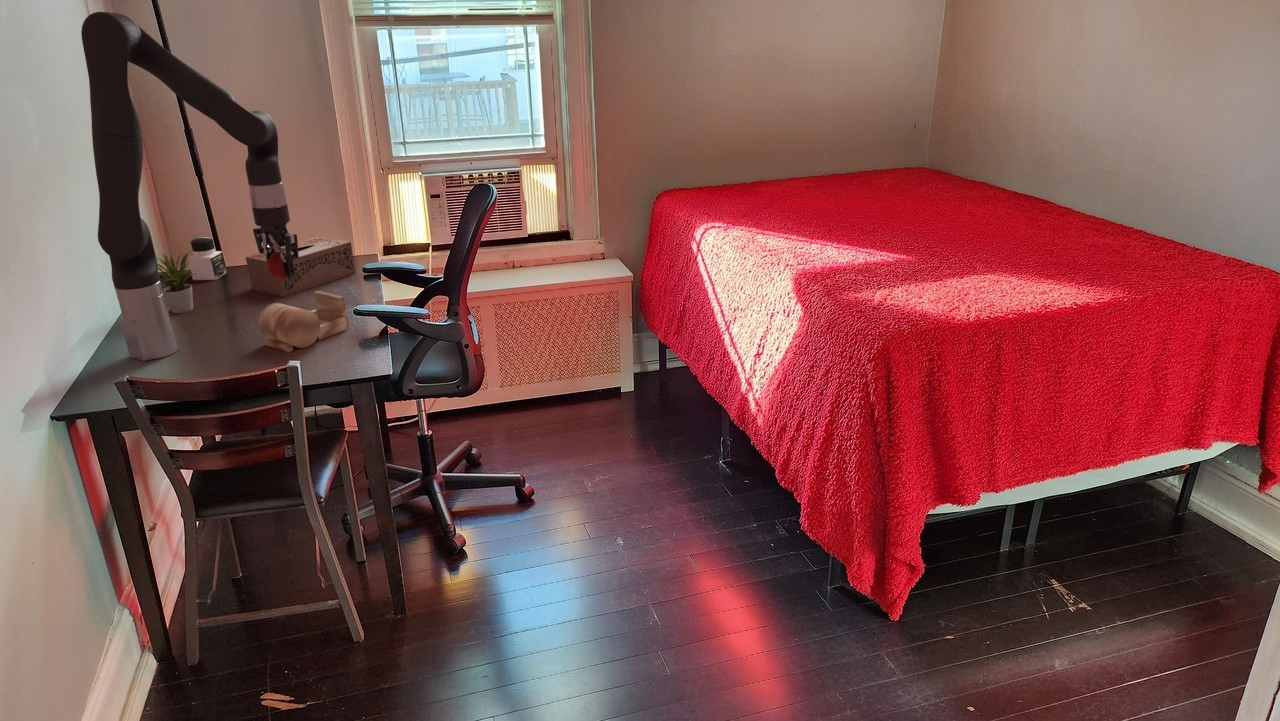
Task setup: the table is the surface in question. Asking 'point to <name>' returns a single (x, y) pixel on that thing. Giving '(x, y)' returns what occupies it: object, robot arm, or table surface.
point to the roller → (288, 326)
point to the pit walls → (330, 313)
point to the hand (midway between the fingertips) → (282, 273)
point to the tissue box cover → (305, 267)
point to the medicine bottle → (206, 260)
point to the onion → (276, 266)
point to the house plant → (177, 284)
